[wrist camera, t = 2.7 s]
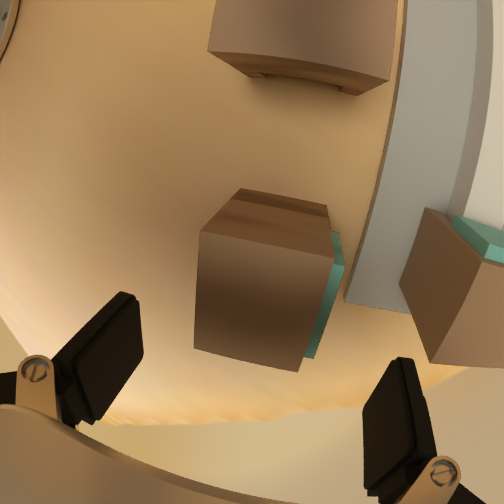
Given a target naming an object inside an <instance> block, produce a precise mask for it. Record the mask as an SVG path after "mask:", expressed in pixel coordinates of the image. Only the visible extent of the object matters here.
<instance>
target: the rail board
mask: <svg viewBox="0 0 504 504" xmlns="http://www.w3.org/2000/svg"><path fill="white" fill-rule="evenodd" d="M344 302H348V303H353V304H358V305H363V306H369V307H374V308H379V309H385V310H390V311H396V312H401V313H407V314H411V315H412V317H413V320H414V322H415V325H416V327H417V330H418V333H419V335H420V338H421V341H422V343H423V346H424V349H425V352H426V354H427V357H428V360H429V363H433V364H443V365H455V366H468V367H486V368H504V0H405V1H404V16H403V28H402V39H401V48H400V57H399V65H398V72H397V79H396V86H395V92H394V99H393V104H392V110H391V116H390V121H389V127H388V132H387V137H386V142H385V147H384V151H383V156H382V160H381V165H380V169H379V174H378V178H377V182H376V186H375V190H374V194H373V198H372V202H371V206H370V209H369V213H368V217H367V221H366V224H365V228H364V231H363V235H362V238H361V242H360V245H359V248H358V252H357V255H356V258H355V261H354V265H353V268H352V271H351V274H350V277H349V280H348V283H347V286H346V289H345V292H344Z"/></svg>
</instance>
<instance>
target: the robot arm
mask: <svg viewBox="0 0 504 504" xmlns="http://www.w3.org/2000/svg"><path fill="white" fill-rule="evenodd" d="M18 5H19V0H0V58H1V56H2V54H3V52H4V50H5V47H6V45H7V42H8V40H9V37H10V35H11V32H12V29H13V26H14V22H15V19H16V15H17V10H18ZM143 354H144V350H143V341H142V331H141V319H140V306H139V301H138V300H136V297H135V296H134V295H132V294H129V293H126V292H122V291H120V292H119V293H117V294H116V295H115V296H114V297H113V298H112V299H111V300H110V301H109V302H108V303H107V304H106V305H105V306H104V307H103V308H102V309H101V310H100V311H99V312H98V313H97V314H96V315H95V316H94V317H93V318H92V319H91V320H89V321H88V322H87V323H86V324H85V325H84V326H83V327H82V328H81V329H80V330H79V331H78V332H77V333H76V334H75V336H74V337H73V338H72V339H71V340H70V341H69V342H68V343H67V344H66V345H65V346H64V347H63V348H62V349H61V350H60V351H59V352H58V353H57V354H56V355H55V356H54V357H53V358H52V359H51V360H50V359H49V358H47V357H46V356H43V355H32V356H29V357H27V358H25V359H24V360H23V361H22V362H21V363H20V365H19V366H18V370H17V371H14V372H7V373H0V504H298V503H290V502H283V501H277V500H272V499H266V498H261V497H256V496H251V495H246V494H241V493H238V492H233V491H229V490H225V489H221V488H218V487H214V486H210V485H207V484H204V483H200V482H197V481H194V480H191V479H188V478H184V477H181V476H178V475H175V474H173V473H170V472H167V471H165V470H162V469H159V468H156V467H154V466H151V465H149V464H146V463H144V462H142V461H139V460H137V459H134V458H132V457H130V456H127V455H125V454H123V453H121V452H119V451H117V450H114V449H112V448H110V447H108V446H106V445H104V444H102V443H100V442H98V441H96V440H94V439H92V438H90V437H88V436H86V435H84V434H82V433H80V432H79V428H78V424H79V423H80V422H81V420H83V421H85V422H87V423H89V424H90V425H93V424H94V422H95V421H96V420H100V419H101V418H102V417H103V415H104V414H105V412H106V411H107V410H108V408H109V407H110V405H111V404H112V402H113V401H114V399H115V398H116V396H117V395H118V393H119V392H120V391H121V389H122V388H123V386H124V385H125V383H126V382H127V380H128V379H129V377H130V376H131V375H132V373H133V372H134V370H135V369H136V367H137V366H138V365H139V363H140V362H141V360H142V358H143ZM362 417H363V446H364V488H365V489H367V490H368V491H367V496H378V500H379V501H378V502H379V504H486V503H484V502H483V501H482V500H480V499H479V498H478V497H477V496H475V495H474V494H473V493H472V492H470V491H469V490H468V489H467V488H465V487H464V486H463V485H462V484H460V483H459V482H460V479H461V471H460V467H459V466H458V464H457V463H456V461H454V460H453V459H452V458H450V457H448V456H437V451H436V446H435V441H434V436H433V431H432V426H431V421H430V417H429V412H428V407H427V403H426V400H425V397H424V396H423V393H422V389H421V385H420V381H419V377H418V374H417V370H416V366H415V363H414V360H413V359H411V358H404V357H397V358H396V360H392V361H391V362H390V364H389V366H388V367H387V369H386V371H385V373H384V374H383V376H382V378H381V379H380V381H379V383H378V384H377V386H376V388H375V389H374V391H373V393H372V394H371V396H370V397H369V399H368V401H367V402H366V404H365V405H364V408H363V412H362Z"/></svg>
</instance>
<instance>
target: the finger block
mask: <svg viewBox="0 0 504 504" xmlns="http://www.w3.org/2000/svg"><path fill="white" fill-rule="evenodd" d="M344 269H345V262H344V257H343V252H342V247H341V242H340V237H339V233H336V232H331V230H330V223H329V217H328V211H327V205H323V204H318V203H313V202H309V201H304V200H299V199H294V198H289V197H284V196H279V195H274V194H269V193H264V192H258V191H253V190H247V189H242V188H241V189H240V190H239V191H238V192H237V193H236V194H235V195H234V196H233V197H232V198H231V199H230V200H229V201H228V202H227V203H226V204H225V205H224V206H223V207H222V208H221V209H220V210H219V211H218V212H217V213H216V214H215V216H214V217H213V218H212V219H211V220H210V221H209V222H208V223H207V224H206V225H205V226H204V227H203V228H202V229H201V230H200V240H199V253H198V268H197V285H196V304H195V327H194V348H195V349H198V350H202V351H206V352H209V353H213V354H217V355H221V356H225V357H229V358H233V359H237V360H241V361H246V362H250V363H255V364H259V365H264V366H268V367H273V368H278V369H283V370H288V371H293V372H298V370H299V368H300V365H301V362H302V359H303V357H307V358H312V359H314V356H315V353H316V351H317V348H318V345H319V343H320V340H321V337H322V335H323V332H324V329H325V326H326V323H327V321H328V318H329V315H330V312H331V309H332V306H333V303H334V300H335V297H336V294H337V291H338V288H339V285H340V282H341V279H342V275H343V272H344Z"/></svg>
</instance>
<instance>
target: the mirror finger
mask: <svg viewBox="0 0 504 504" xmlns="http://www.w3.org/2000/svg"><path fill="white" fill-rule="evenodd" d="M397 5H398V0H216V5H215V10H214V16H213V21H212V27H211V32H210V38H209V44H208V50H207V51H208V52H210V53H211V54H213V55H215V56H216V57H218V58H220V59H221V60H223V61H224V62H226V63H228V64H229V65H231V66H233V67H234V68H236V69H237V70H239V71H240V72H242V73H243V74H245V75H247V76H249V77H258V78H266V75H267V73H270V74H278V75H285V76H291V77H297V78H303V79H309V80H314V81H319V82H324V83H329V84H334V85H338V86H340V92H344V93H348V94H352V95H356V96H358V95H360V94H362V93H364V92H366V91H368V90H370V89H373V88H375V87H377V86H379V85H381V84H383V83H385V82H387V81H389V79H390V72H391V64H392V57H393V48H394V39H395V29H396V18H397Z"/></svg>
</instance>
